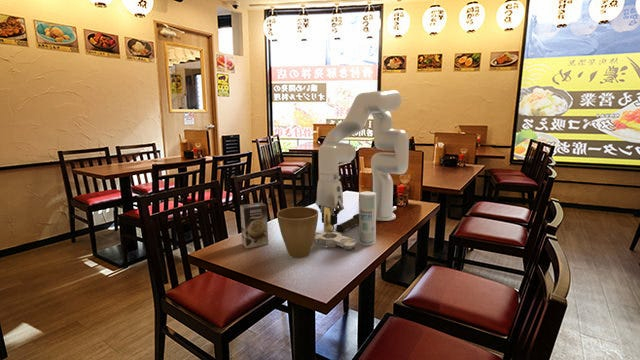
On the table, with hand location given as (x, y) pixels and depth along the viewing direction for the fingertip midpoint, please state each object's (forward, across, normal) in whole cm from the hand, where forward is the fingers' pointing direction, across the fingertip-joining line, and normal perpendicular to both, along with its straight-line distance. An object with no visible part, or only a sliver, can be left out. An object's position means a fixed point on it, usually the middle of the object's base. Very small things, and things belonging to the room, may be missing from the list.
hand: (329, 222), depth 138 cm
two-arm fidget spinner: (+8, 0, 0) cm, 8 cm away
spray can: (+8, -11, -10) cm, 17 cm away
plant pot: (+9, +1, +16) cm, 18 cm away
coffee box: (+9, +22, +20) cm, 31 cm away
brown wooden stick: (+9, +6, -21) cm, 23 cm away
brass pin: (+3, 0, 0) cm, 3 cm away
